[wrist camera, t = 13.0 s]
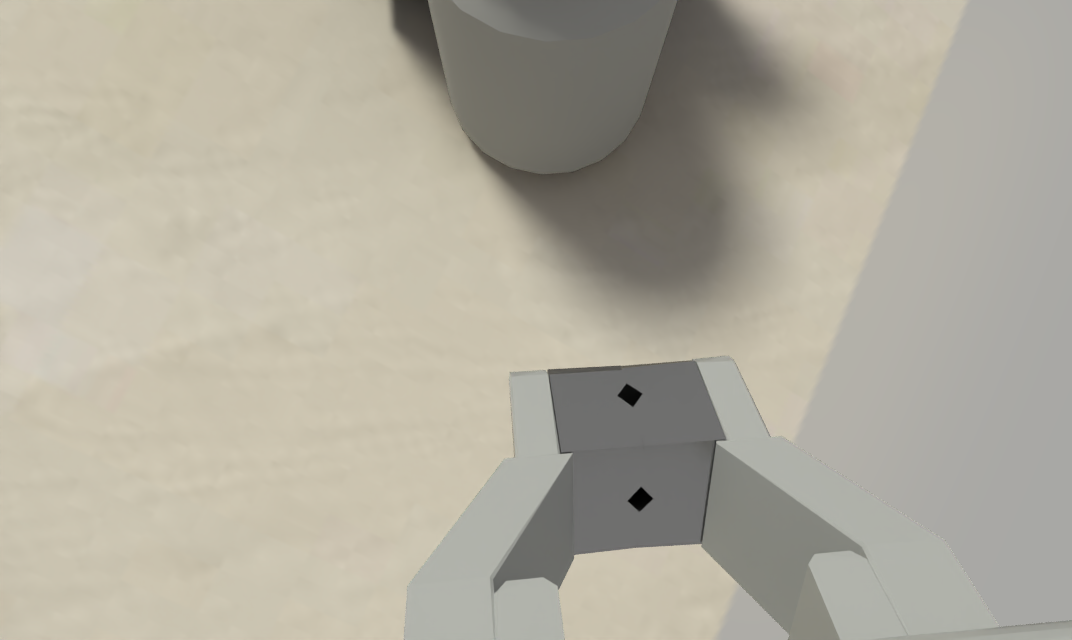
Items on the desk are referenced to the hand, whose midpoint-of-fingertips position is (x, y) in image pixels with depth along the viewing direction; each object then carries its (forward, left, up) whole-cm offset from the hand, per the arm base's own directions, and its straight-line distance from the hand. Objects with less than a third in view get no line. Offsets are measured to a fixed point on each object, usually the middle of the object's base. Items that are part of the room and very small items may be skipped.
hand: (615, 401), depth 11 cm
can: (+10, +9, -18) cm, 22 cm away
